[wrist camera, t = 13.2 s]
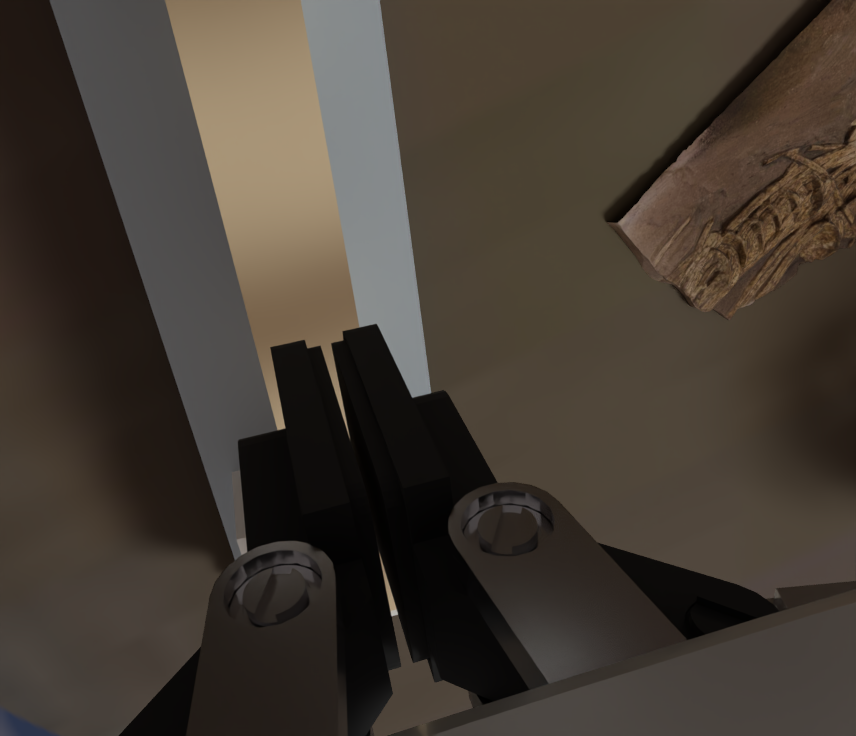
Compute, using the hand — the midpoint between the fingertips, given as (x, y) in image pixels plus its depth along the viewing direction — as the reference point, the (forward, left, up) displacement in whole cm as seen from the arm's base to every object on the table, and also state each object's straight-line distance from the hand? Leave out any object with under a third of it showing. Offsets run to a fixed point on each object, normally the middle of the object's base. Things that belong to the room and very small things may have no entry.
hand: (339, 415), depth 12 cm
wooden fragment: (+1, +24, -13) cm, 27 cm away
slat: (+1, 0, -12) cm, 12 cm away
